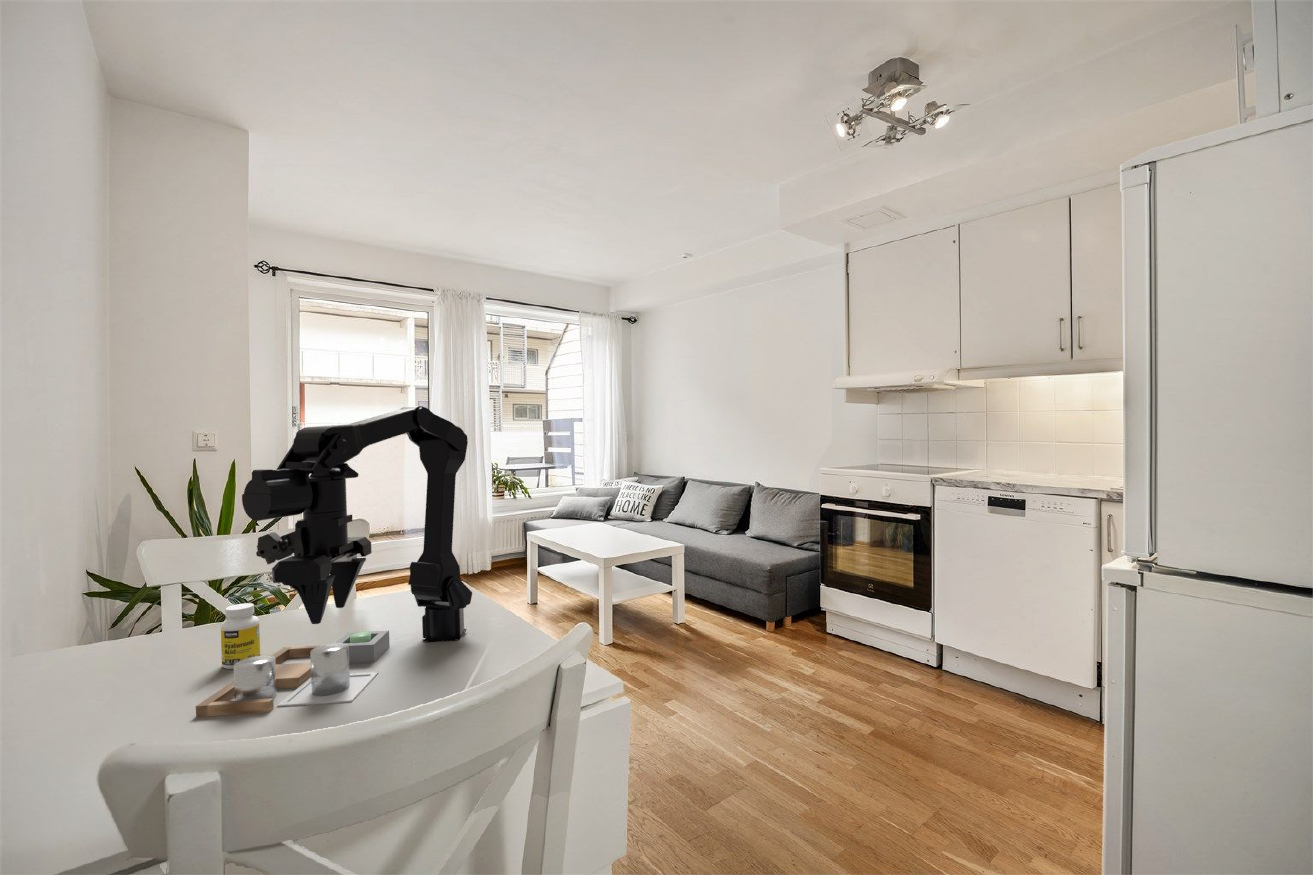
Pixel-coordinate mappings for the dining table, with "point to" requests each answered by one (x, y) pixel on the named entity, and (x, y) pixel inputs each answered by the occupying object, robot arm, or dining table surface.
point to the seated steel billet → (255, 678)
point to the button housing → (367, 647)
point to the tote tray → (307, 698)
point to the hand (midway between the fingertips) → (328, 615)
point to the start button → (360, 637)
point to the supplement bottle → (239, 635)
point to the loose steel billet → (330, 669)
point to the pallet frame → (284, 679)
